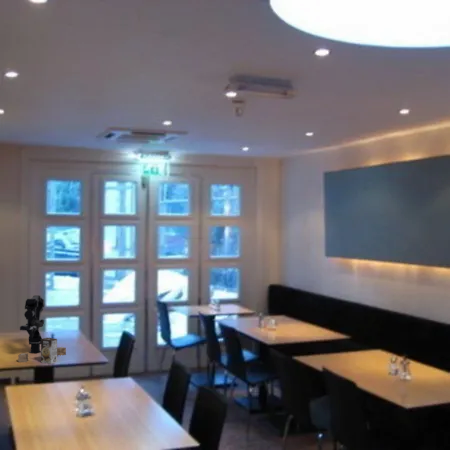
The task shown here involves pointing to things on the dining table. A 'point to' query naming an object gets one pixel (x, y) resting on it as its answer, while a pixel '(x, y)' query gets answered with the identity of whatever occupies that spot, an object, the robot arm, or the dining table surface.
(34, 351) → the robot arm
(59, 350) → the walnut cube
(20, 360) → the walnut cube
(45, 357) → the coffee box
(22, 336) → the dining table surface
